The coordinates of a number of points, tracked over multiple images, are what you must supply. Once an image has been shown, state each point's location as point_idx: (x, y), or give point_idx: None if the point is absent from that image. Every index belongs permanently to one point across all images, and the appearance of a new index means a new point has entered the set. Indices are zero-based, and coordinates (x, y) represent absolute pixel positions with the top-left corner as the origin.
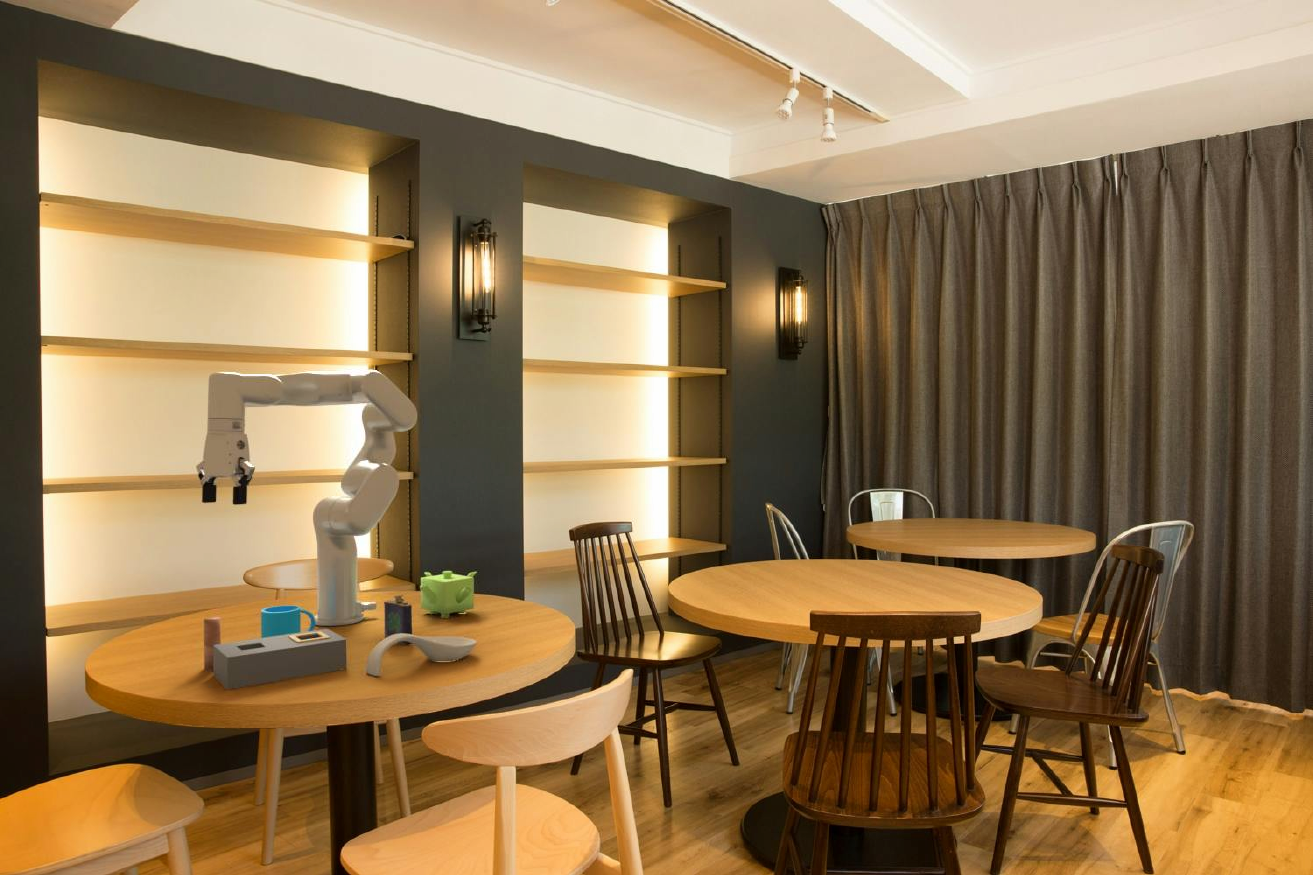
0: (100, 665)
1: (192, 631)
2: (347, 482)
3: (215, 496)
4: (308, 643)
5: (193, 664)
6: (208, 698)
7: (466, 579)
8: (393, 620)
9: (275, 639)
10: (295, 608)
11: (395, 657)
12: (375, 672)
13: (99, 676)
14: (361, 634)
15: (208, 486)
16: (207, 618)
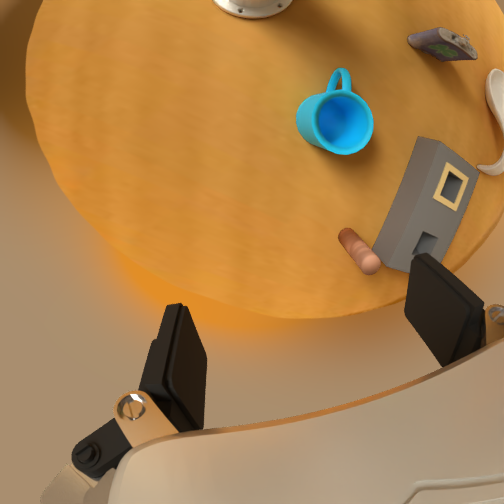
0: (222, 300)
1: (121, 156)
2: None
3: (184, 329)
4: (462, 204)
5: (313, 241)
6: None
7: None
8: (441, 47)
9: (427, 212)
10: (349, 98)
11: (466, 110)
12: (488, 174)
13: (269, 314)
14: (363, 29)
15: (194, 415)
16: (363, 268)
